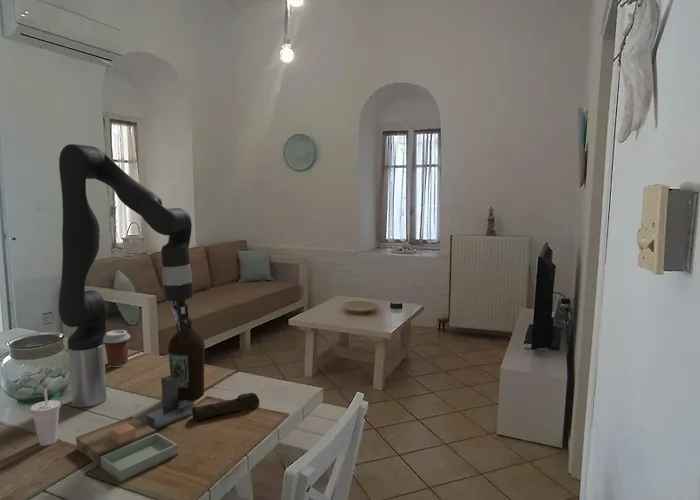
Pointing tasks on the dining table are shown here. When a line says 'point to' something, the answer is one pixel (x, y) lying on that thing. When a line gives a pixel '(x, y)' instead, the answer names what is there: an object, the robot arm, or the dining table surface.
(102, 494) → the dining table surface
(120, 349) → the coffee cup
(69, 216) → the robot arm
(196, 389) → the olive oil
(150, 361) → the dining table surface
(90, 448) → the brown slab
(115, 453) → the box
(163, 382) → the scraper
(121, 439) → the tile
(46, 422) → the smoothie
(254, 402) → the hand tool
